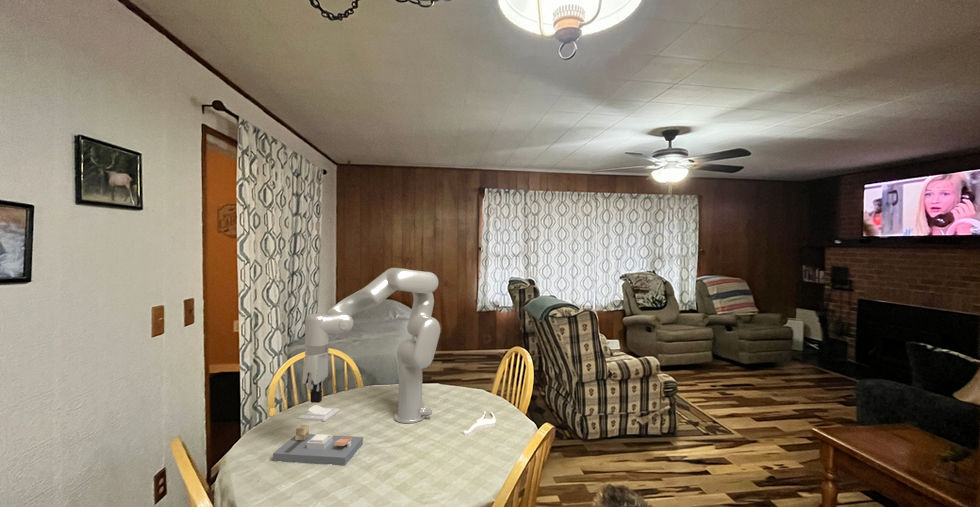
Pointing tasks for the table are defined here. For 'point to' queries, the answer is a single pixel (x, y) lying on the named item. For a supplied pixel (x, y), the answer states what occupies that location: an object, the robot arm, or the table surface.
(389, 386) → the table surface
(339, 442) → the rocker paddle
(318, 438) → the push button
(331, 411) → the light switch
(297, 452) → the switch panel
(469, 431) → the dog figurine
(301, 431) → the slider knob
